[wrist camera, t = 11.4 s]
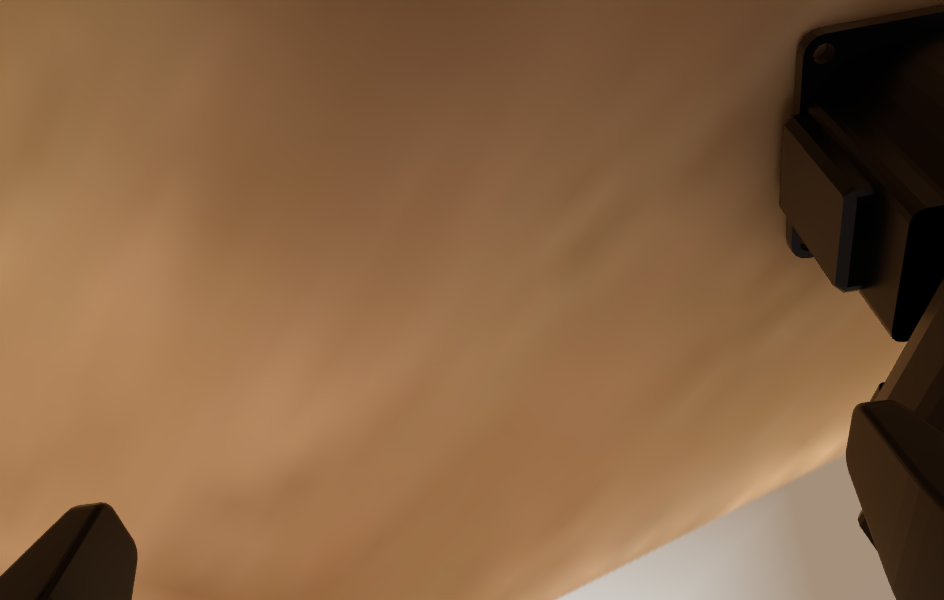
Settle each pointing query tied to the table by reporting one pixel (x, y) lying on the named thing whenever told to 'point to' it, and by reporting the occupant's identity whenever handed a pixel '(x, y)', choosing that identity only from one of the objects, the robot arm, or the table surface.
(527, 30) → the table surface
